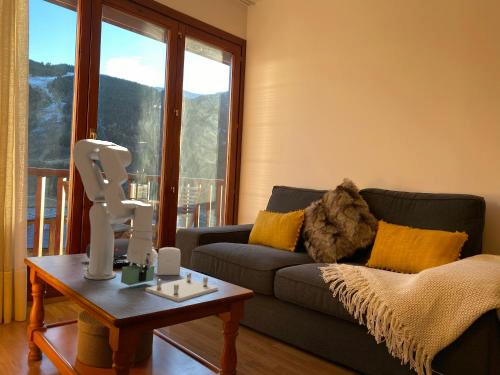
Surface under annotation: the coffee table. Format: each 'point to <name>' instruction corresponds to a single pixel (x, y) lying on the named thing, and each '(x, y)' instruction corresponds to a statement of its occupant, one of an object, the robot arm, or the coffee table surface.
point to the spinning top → (154, 256)
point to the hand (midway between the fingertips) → (137, 278)
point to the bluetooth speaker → (115, 248)
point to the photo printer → (168, 261)
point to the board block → (135, 274)
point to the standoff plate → (181, 288)
